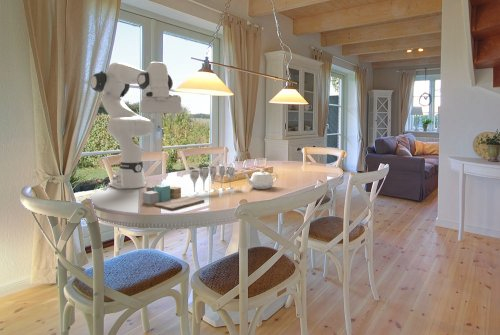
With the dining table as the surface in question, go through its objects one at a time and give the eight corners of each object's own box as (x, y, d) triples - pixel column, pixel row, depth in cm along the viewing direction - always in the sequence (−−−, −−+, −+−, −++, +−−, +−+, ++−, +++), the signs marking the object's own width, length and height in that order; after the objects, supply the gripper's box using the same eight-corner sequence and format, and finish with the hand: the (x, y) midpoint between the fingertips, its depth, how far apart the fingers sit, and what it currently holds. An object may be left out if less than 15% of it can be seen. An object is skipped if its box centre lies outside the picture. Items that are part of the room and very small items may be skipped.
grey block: (143, 202, 162) (142, 192, 161) (151, 201, 166) (151, 190, 165) (150, 204, 159) (149, 194, 158) (158, 202, 163) (158, 192, 162)
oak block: (166, 198, 173) (166, 188, 172) (172, 196, 177) (172, 186, 176) (174, 199, 171) (174, 189, 170) (180, 197, 175) (180, 187, 174)
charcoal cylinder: (144, 197, 173) (144, 187, 172) (151, 195, 176) (151, 186, 175) (150, 198, 171) (149, 188, 170) (156, 197, 174) (156, 187, 173)
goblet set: (193, 194, 181) (192, 169, 179) (187, 192, 185) (187, 168, 184) (237, 188, 198) (237, 165, 196) (231, 187, 202) (231, 164, 200)
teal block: (155, 200, 168) (154, 185, 167) (163, 198, 172) (163, 184, 171) (162, 201, 165) (161, 187, 164) (170, 199, 169) (170, 185, 168)
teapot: (272, 184, 213) (272, 167, 211) (282, 188, 200) (283, 170, 198) (238, 186, 204) (238, 168, 203) (247, 191, 192) (247, 172, 190)
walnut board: (154, 205, 157) (154, 203, 157) (186, 198, 173) (186, 196, 173) (172, 210, 150) (172, 208, 150) (204, 201, 166) (204, 199, 166)
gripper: (179, 95, 181) (180, 122, 182) (138, 95, 172) (140, 123, 173) (182, 93, 175) (184, 121, 176) (140, 93, 167) (142, 122, 167)
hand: (162, 122), depth 175 cm, fingers open, 8 cm apart
